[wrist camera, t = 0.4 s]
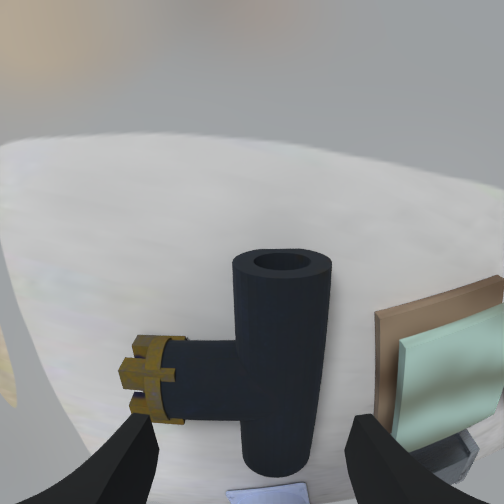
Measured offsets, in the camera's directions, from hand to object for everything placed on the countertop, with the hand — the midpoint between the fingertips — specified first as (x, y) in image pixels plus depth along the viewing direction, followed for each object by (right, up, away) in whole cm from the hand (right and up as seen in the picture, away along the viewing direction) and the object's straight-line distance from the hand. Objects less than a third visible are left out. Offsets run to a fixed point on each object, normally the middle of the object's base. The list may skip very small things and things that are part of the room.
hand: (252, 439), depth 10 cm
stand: (+15, -2, +11) cm, 18 cm away
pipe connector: (-2, 0, +11) cm, 11 cm away
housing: (+17, -13, +14) cm, 26 cm away
